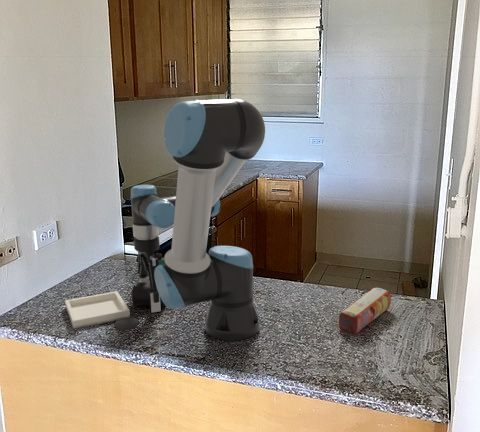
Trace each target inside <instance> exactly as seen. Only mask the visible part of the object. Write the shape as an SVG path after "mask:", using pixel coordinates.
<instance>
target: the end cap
mask: <svg viewBox="0 0 480 432" xmlns="http://www.w3.org/2000/svg"><path fill="white" fill-rule="evenodd" d="M146 284H147V283H145V282H144V283H141V282H140V281H139V282H137V283H136V285H133V286H132V289H131V302H132V305H133V306H135V307H151V297H150V293H149V291H151V287H150V284H149V285H146ZM160 305H161V307H164V306H166V305H165V304H164V303H163V301H162V299H161V297H160Z"/></svg>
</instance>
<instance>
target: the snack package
mask: <svg viewBox="0 0 480 432" xmlns="http://www.w3.org/2000/svg"><path fill="white" fill-rule="evenodd" d="M391 303H392V296H391V293H390V292H389V291H388V290H386V289H383V288H380V287H373V288H371V289H370V290H369V291H368V292H366V293H365V294H364V295H362V296H361V297H360V298H359V299H358V300H356V301H354V302H353V303H352V304H350V306H348V307H347V308H346V309H344V310H343V311H341V312H340V313H339V316H338V328H339V330H340V331H341V333H347V334H350V335H357V334H359V333H360V332H361V330H363V329H365V327H366V326H368V325H369V324H371V322H373V321H374V320H375V319H377V318H378V317H379V316H381V314H383V313H384V312H385V311H387V310H389V308H390V306H391Z"/></svg>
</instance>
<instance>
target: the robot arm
mask: <svg viewBox="0 0 480 432" xmlns="http://www.w3.org/2000/svg"><path fill="white" fill-rule="evenodd" d="M163 128H164V129H163V133H164V135H163V137H164V138H165V141H164V144H165V148H166V149H167V153H169V154H170V155H171V156H172V160H173V161H174V163H175V164H176V165H177V166H178V169H177V170H178V171H177V182H176V192H175V195H172V196H166V197H165V196H164V197H158V191H157V187H156V186H155V185H153V184H139V185H138V184H137V185H134V186H132V187H131V189H130V205H131V215H132V234H133V248H134V251H136V252H137V275H138V277H139V283H140V282H141V283H144V282H145V283H147V284H146V285H150V287H151V291H149V293H150V297H151V306H150V310H151V311H150V312H151V313H157V312H162V310H161V307H162V306H161V305H160V297H161V299H162V301H163V303H164V304H165V306H166V307H167V308H168V309H170V310H176V309H182V308H183V309H184V308H187V307H190V306H193V305H197V304H201V303H205V302H209V301H210V305H209V307H208V311H207V314H206V318H205V321H204V324H205V325H204V326H205V328H204V329H205V332H206V333H207V335H209V336H210V337H212V338H214V339H217V340H220V341H221V340H222V341H229V342H231V341H242V340H245V339H249V338H252V337H253V336H255V335H256V334H258V333H259V331H260V326H261V325H260V323H261V322H260V317H259V315H258V312H257V310H256V306H255V303H254V275H253V274H254V264H253V263H254V262H253V255H252V254H251V252H250V251H248V250H247V249H245V248H243V247H239V246H233V245H215V246H213V247H210V248H209V250H208V253H207V246H208V238H209V237H208V236H209V229H210V221H211V217H215V216H217V215H218V214H219V213H220V208H221V201H220V198H221V196H222V195H224V193H225V190H226V189H227V188H228V187H229V185H230V184H231V183H232V182H233V179H234V178H235V177H236V175H238V173H239V172H240V170H241V168H242V167H243V166H244V164H245V163H246V162H247V161H249V160H251V159H253V158H254V157H255V156H256V155H257V153H259V150H260V149H261V147H262V146H263V144H264V141H265V137H266V136H265V135H266V125H265V120H264V118H263V115H262V113H260V110H259V109H257V107H256V106H254V105H253V104H252V103H250V102H248V101H247V100H243V99H240V98H230V99H207V100H206V99H202V100H201V99H200V100H199V99H190V100H186V101H180V102H177V103H175V104H174V105H173V107H171V108H170V110H169V111H168V112H167V115H166V118H165V122H164V127H163ZM171 226H172V227H173V228H172V237H171V238H172V239H171V249H169V250H167V251H168V252H167V251H166V252H165V254H164V265H159V266H158V259H157V256H156V254H155V252H156V251H158V250H159V249H160V247H161V245H160V237H159V234H160V231H159V229H168V228H170V227H171Z"/></svg>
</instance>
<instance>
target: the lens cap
mask: <svg viewBox="0 0 480 432" xmlns="http://www.w3.org/2000/svg"><path fill="white" fill-rule="evenodd" d="M138 322H139V320H138V319H136V318H134V317H130V318H122V319H119V320H115V322H114V327H115V328H116V329H117V330H121V331H123V330H124V331H125V330H132V329H134V328H136V327H137V326H138V325H139V323H138Z"/></svg>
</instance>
